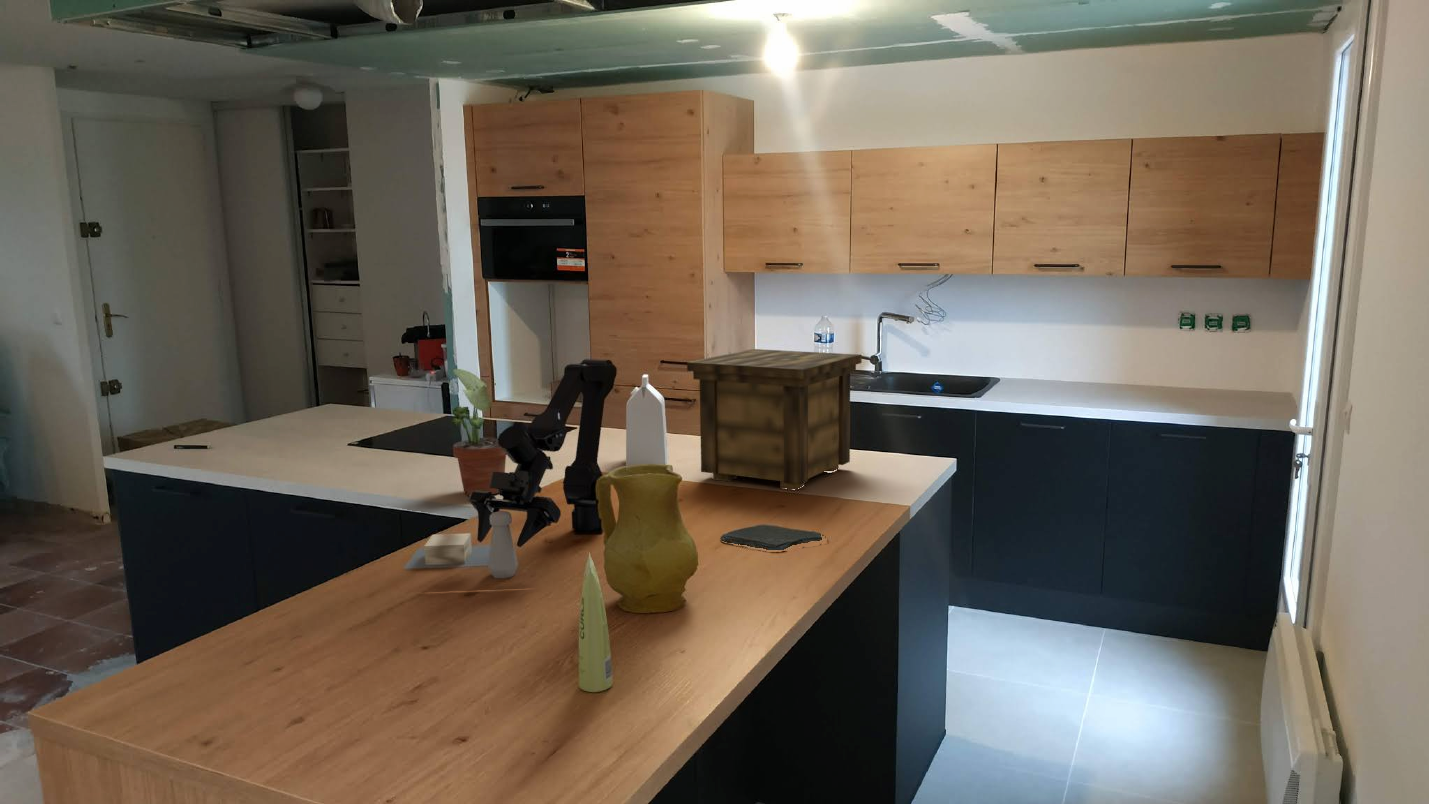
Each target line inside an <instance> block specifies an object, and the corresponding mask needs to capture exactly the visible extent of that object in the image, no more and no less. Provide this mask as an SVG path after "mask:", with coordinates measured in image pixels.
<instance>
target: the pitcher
mask: <svg viewBox="0 0 1429 804" xmlns="http://www.w3.org/2000/svg"><path fill="white" fill-rule="evenodd" d="M673 470H674V467H673V465H671V464H666V465H661V464H642V465H633V466H626V465H625V466H620V467H617V468H614V469H612V470H610V471H609V472H608V473H606V474H603V476H602V477H600V478H599V479H598V480H597V482H596V498H597V500H598V502H599V503H598V512H599V518H600V519H602V523H601V525H602V530H603V534H604V535H603V545H604V550H603V558H604V560H603V561H604V563H603V569H604V573H605V579H606V582H607V585H609V587H610V589H611V590H613V591H614V592H616V593H617V594H619V595H621V597H619V599H618V601H617V605H618V607H619V608H620V609H621V610H623V611H624V612H629V613H633V614H651V613H652V614H657V613H658V614H659V613H666V612H670V611H671V612H672V611H675V610H678V609H680V608H683V607H685V606H686V601H687V599H686V598H685V597H684V595H683V593H685V592H686V590H687V589H686V588H685V587H686V584H687V582H688V580H690V578H691V577H693V576H694V575H695V573H696V572H697V571H698V565H699V552H698V550H697V546H696V542H695V540H694V539H693V537H692V536H691V534H690V533H689V531H688V529H687V528H686V527H685V524H684V521H683V518H682V514H681V510H680V505H679V500H678V499H679V497H678V496H679V494H678V490H679V485H680V483H682V481H683V477H682V475H681V474H679V473H678V472H676V471H675V472H674V471H673ZM612 486H613V489H614V490H615V492H616V494H617V498H618V499H617V500H618V512H617V513H618V514H617V520H616V517H615V513H614V507H613V501H612Z"/></svg>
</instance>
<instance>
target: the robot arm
mask: <svg viewBox="0 0 1429 804" xmlns="http://www.w3.org/2000/svg"><path fill="white" fill-rule="evenodd" d="M617 372H618V371H617V367H616V365H614V363H613V362H612V360H611V359H594V358H592V359H591V358H585V359H583V360H582V361H581V362H580V363H569V364H567V365H566V366H564V371H563V375H562V378H561V380H560V381H559V383H558V385H557V388H556V389H555V391H554V393H553V395H552V397H551V398H550V401H549V403H548V404H547V406H546V408H545V410H544V411H543V412H541V413H540V414H538V415H536V416H535V417H534V418H533V420H532V421H531V423H529V425H528V426H527V425H526V423H524V422H523V421H514V422H513V424H512V425H511V426H508V427H507V428H505V429H504V430H503V431H502V432H501V433H499V435H498V437H497V438H498V443H499V445H500V447H501V448H502V449H503V450H504V452H505V453H506V454H507V455H506V456H507V457H508V458H509V460H510V461H511V462H512V463H514V464H517V465H516V467H515V470H514V471H513V472H512V471H510V472H505V473H504V472H492V477H491V481H490V486H489V487H490V488H495V489H498V490H499V491H498V493H497V494H498V495H499V496H501V497H502V498H497V497H495V494H492V493H491V492H489V491H479V490H476V491H473V492H472V494H471V495H469V498H468V502H469V503H470V504H471V506H472V507H473V508H474V509H475V510H476V512H477V518H478V520H477V521H478V523H477V538H476V540H477V541H478V542H479V543H482V542H483V541H484V540H485V538H486V537H487V535H488V533H489V532H490V531H491V529H492V528H493V526H492V525H491V524H490V515H491V514H492V513H494V512H498V511H501V510H504V511H505V510H507V511H508V510H509V511H513V512H515V511H516V512H526V519H525V522H524V523H523V527H522V529H521V532H520V534H519V536H518V539H517V542H516V546H517V547H518V548H521V547H523V546H524V545H525V544H526V543H528V542H529V541H530V540H531V539H532V538H533V537H534V536H535V535H537V534H538V533H539V532H541V531H542V530H543V529H545V528H546V527H551V526H552V524H558V522H559V520H560V518H561V516H562V513H561V512H562V511H561V509H560V507H559V506H558V504H556V503H555V501H554V500H553V499H552V498H551V497H548V496H547V497H546V496H537V495H536V494H537V493H538V494H541V492H542V490H543V489H542V487H541V486H540V484H541V483H542V479H543V478H544V476H545V473H546V471H547V470H551V471H552V470H553V469H554V466H553V465H554V464H553V463H552V460H551V456H548V455H547V454H546V453H545V452H552V453H555V452H559V451H560V450H561V448H562V447H563V445H564V443H565V440H566V436H567V434H568V430H567V426H566V424H567V421H568V418H569V417H570V415H571V413H572V411H573V408H574V407H575V405H576V403H577V401H578V398H579V397H580V394H581V395H582V401H581V402H582V403H581V410H580V419H579V427H578V436H577V442H576V443H577V444H576V451H575V458H574V461H572V464H570V465H567V466H565V468H564V477H563V482H562V489H563V494H564V497H565V501H566V504H567V505H573V509H572V510H571V528H572V530H573V534H574V535H578V534H579V535H581V534H583V535H584V534H602V533H603V534H604V532H603V530H602V525H601V523H602V519H600V518H599V512H598V503H599V502H598V500H597V498H596V482H597V480H598V479H599V478H600V477H602V476H604V474H603V472H602V470H601V468H600V466H599V464H598V457H599V456H598V455H599V447H600V441H601V431H602V424H603V417H604V415H603V414H604V406H605V399H606V398H607V397H608V396H609V395H610V393H611V392H612V390H613V389H614V384H615V379H616V377H617Z"/></svg>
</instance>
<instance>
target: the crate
mask: <svg viewBox="0 0 1429 804" xmlns="http://www.w3.org/2000/svg"><path fill="white" fill-rule="evenodd" d="M862 361H863V360H862V354H856V353H855V354H854V353H838V352H837V353H835V352H833V353H832V352H820V351H819V352H816V351H814V352H813V351H800V350H799V351H797V350H782V349H781V350H778V349H761V348H760V349H759V348H752V349H747V350H746V349H745V350H743V351H742V350H741V351H737V352H732V353H726V354H722V355H717V356H711V357H707V358H702V359H698V360H697V359H696V360H692V361H687V362H686V371H687V372H692V376H693V378H692V379H693V380H696V381H697V380H699V416H700V417H699V423H700V424H699V425H700V430H699V431H700V433H699V434H700V467H701V468H700V470H701V473H707V474H708V473H709V474H712V479H713V480H717V481H723V482H730V481H732V480H734V479H737V476H738V477H747V478H753V479H754V478H755V479H762V480H771V481H776V482H780V483H779V485H780V487H779V488H780V489H781V488H787V489H786V490H788V489H795V490H796V491H798V490H799V489H798V488H800V487H802V486H803V485H804V486H805V483H807V482H808V481H809V479H811V478H812V477H815V476H818V475H819V474H823V473H822V472H824V471H834V470H836V469H838V468H839V466H844V465H846V464H848V463H850V462H851V461H850V460H851V447H850V446H851V374H852V373H855V372H857V365H859V364H862ZM733 478H734V479H733ZM731 479H732V480H731ZM729 480H730V481H729ZM797 489H798V490H797ZM800 489H801V488H800ZM795 490H794V491H795Z"/></svg>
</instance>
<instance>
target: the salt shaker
mask: <svg viewBox="0 0 1429 804" xmlns="http://www.w3.org/2000/svg"><path fill="white" fill-rule="evenodd" d="M512 521H513V517H512V514H511V513H510V512H509V511H505V510H500V511H498V512H494V513H492V514H491V515H490V524H491V525H492V531H491V539H490V545H491V546H490V553H489V561H488V566H487V567H488V570H489V572H490V574H491V576H492V577H493V578H495V579H501V580H503V579H507V578H512V577H514V575H515V573H516V571H517V569H518V567H519V565H518V564H519V563H518V559H517V554H516V549H515V545H514V540H513V536H512V532H511V528H510V525H511V524H512Z"/></svg>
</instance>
